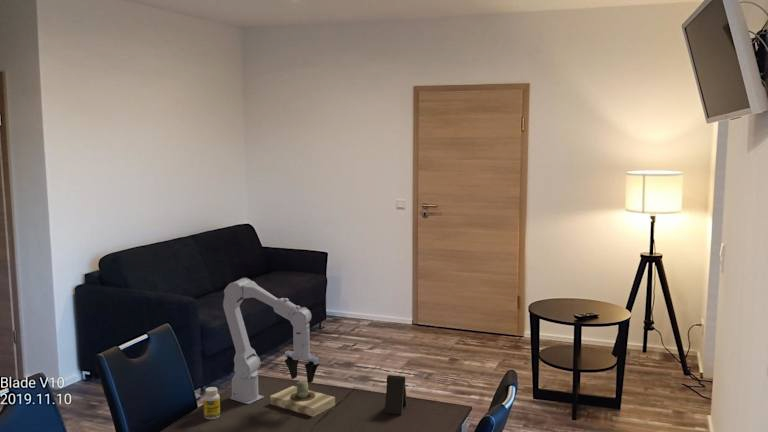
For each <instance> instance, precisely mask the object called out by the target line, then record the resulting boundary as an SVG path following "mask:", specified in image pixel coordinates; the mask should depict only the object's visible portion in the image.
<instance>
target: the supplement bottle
mask: <svg viewBox="0 0 768 432" xmlns="http://www.w3.org/2000/svg"><path fill="white" fill-rule="evenodd" d="M204 390H205V395H204V396H203V417H204V418H205V419H207V420H215V419H218V418H219V417H221V399H220V398H221V397H220V396H221V395H220V394H218V392H219V391H218V388H217V387H216V386H209V387H206V388H205V389H204Z"/></svg>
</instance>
